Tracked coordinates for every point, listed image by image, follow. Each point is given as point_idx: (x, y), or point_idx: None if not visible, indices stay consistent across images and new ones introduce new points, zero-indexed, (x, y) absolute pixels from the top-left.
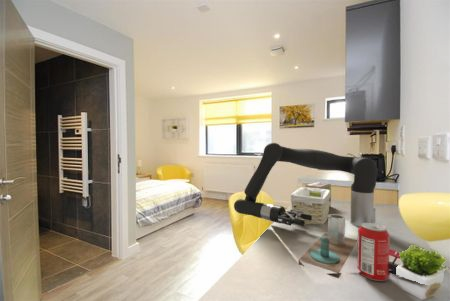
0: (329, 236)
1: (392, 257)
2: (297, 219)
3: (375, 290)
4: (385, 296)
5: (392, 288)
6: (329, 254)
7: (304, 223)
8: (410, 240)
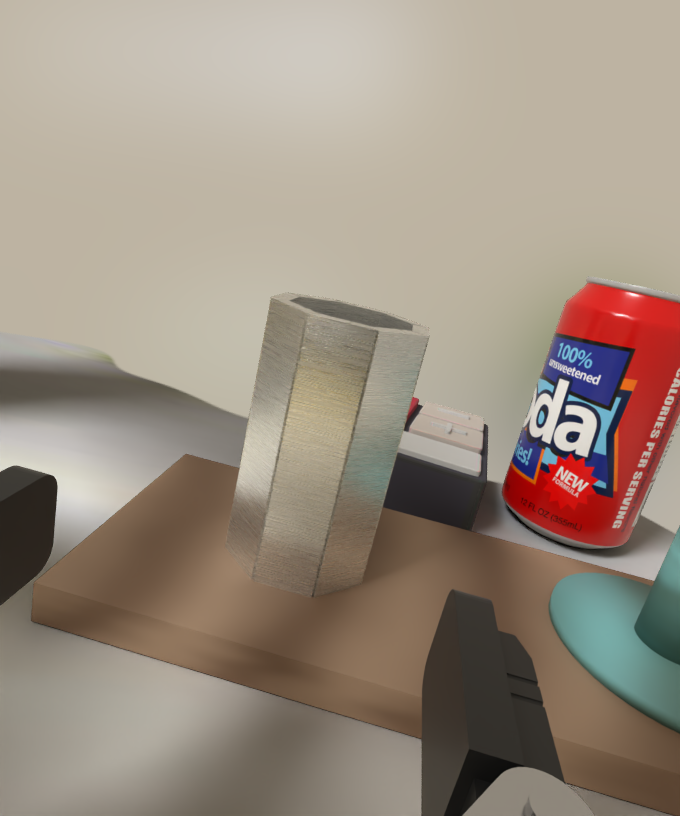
0: (353, 537)
1: (433, 419)
2: (511, 701)
3: (670, 544)
4: (674, 533)
5: None
6: (616, 613)
7: (439, 633)
8: (60, 349)
